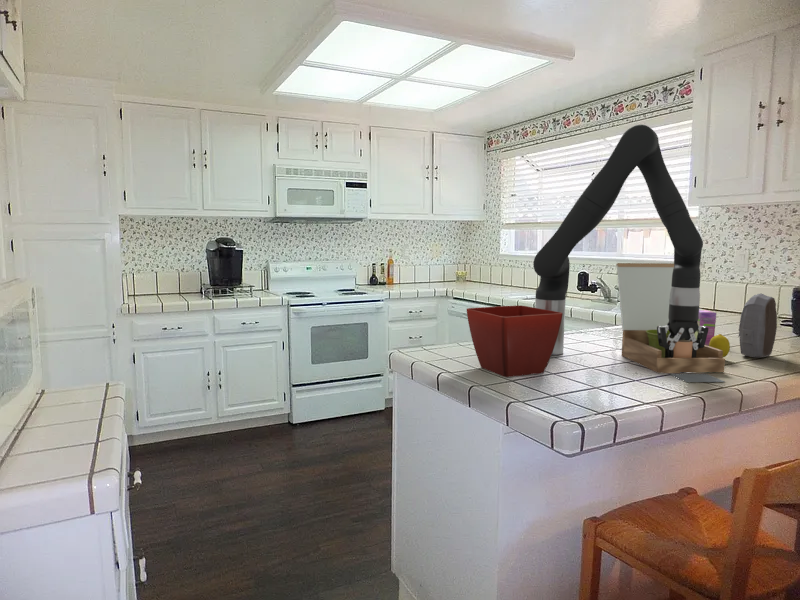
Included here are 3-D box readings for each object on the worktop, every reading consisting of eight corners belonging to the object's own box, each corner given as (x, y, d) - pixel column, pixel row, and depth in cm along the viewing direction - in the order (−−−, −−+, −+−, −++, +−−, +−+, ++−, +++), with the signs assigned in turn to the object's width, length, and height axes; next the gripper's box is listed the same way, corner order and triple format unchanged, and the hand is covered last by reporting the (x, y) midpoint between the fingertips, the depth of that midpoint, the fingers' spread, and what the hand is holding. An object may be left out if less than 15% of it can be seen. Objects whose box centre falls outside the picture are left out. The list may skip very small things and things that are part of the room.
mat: (686, 382, 138) (686, 381, 137) (669, 374, 145) (669, 373, 145) (724, 382, 138) (725, 381, 138) (706, 374, 146) (706, 373, 146)
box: (714, 345, 186) (716, 312, 185) (697, 345, 186) (700, 311, 185) (698, 340, 197) (700, 308, 195) (682, 340, 197) (684, 308, 195)
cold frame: (658, 373, 147) (660, 344, 146) (621, 355, 169) (622, 330, 168) (724, 373, 148) (726, 344, 147) (678, 355, 170) (680, 330, 169)
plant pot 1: (463, 366, 154) (464, 307, 152) (519, 360, 161) (521, 304, 159) (501, 382, 136) (503, 316, 134) (562, 375, 144) (564, 313, 142)
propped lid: (622, 356, 169) (627, 264, 166) (606, 348, 181) (610, 262, 177) (679, 356, 170) (685, 264, 167) (659, 348, 181) (665, 262, 178)
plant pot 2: (684, 364, 158) (686, 334, 157) (652, 363, 159) (654, 334, 158) (669, 357, 168) (671, 329, 167) (639, 356, 168) (640, 329, 167)
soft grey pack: (759, 361, 162) (765, 295, 160) (729, 356, 169) (734, 293, 167) (776, 355, 172) (781, 292, 170) (746, 350, 178) (751, 290, 176)
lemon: (727, 359, 166) (729, 333, 165) (729, 362, 161) (732, 336, 160) (707, 357, 168) (708, 331, 167) (708, 360, 163) (710, 334, 162)
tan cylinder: (675, 370, 150) (677, 341, 149) (664, 365, 156) (666, 337, 155) (695, 370, 150) (697, 341, 150) (683, 365, 156) (685, 337, 155)
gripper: (666, 304, 147) (662, 365, 149) (717, 305, 148) (713, 365, 150) (652, 301, 154) (648, 359, 156) (701, 301, 155) (697, 359, 157)
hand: (680, 362), depth 153 cm, fingers closed on tan cylinder, 5 cm apart
